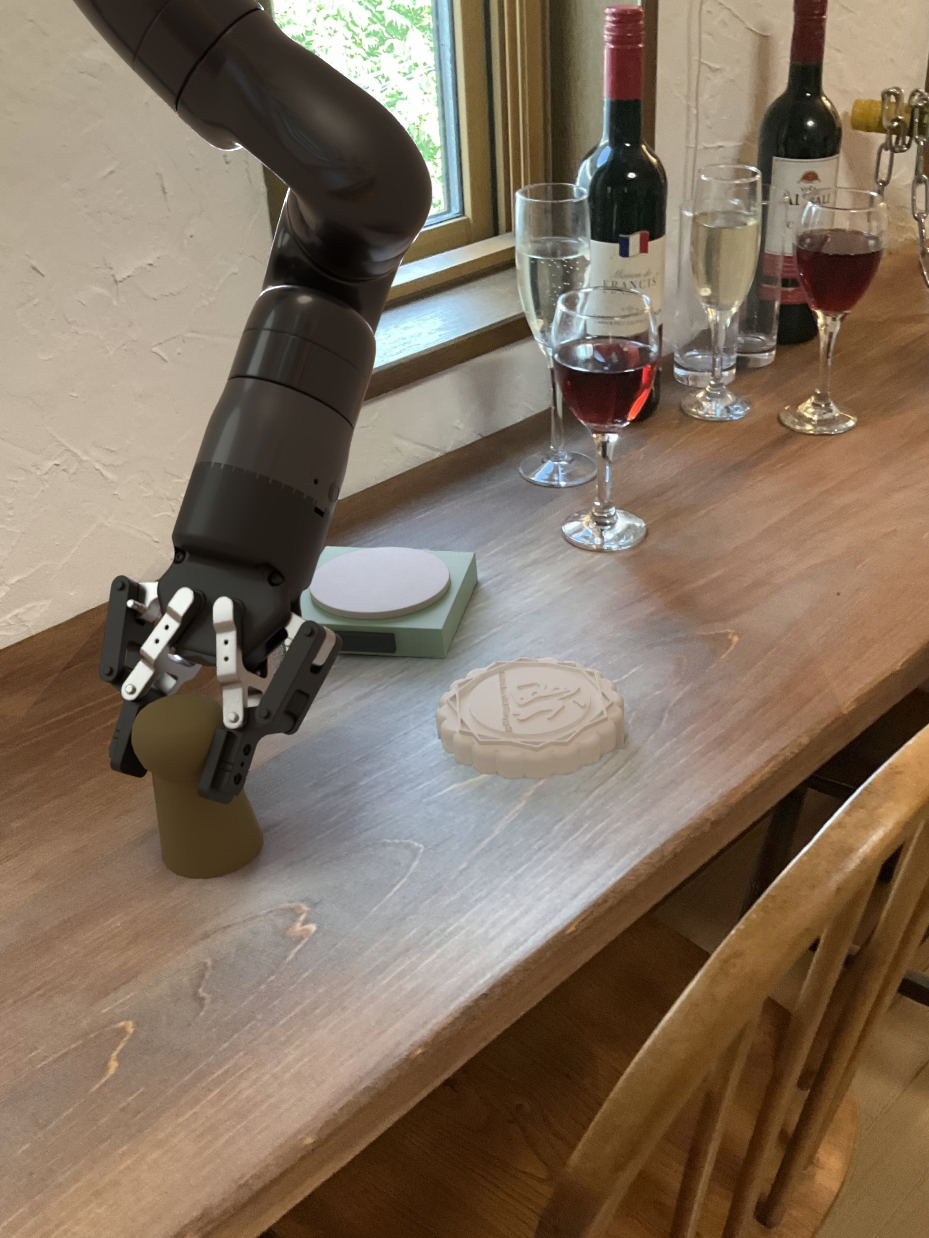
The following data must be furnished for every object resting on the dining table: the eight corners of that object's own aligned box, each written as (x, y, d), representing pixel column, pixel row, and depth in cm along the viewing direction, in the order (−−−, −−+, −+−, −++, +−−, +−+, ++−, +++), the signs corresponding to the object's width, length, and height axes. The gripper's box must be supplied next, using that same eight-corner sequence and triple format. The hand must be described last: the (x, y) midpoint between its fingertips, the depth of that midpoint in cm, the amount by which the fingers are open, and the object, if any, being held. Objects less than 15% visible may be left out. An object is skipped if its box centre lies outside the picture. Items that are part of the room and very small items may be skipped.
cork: (158, 851, 75) (109, 692, 68) (261, 824, 76) (224, 667, 70) (173, 915, 70) (122, 752, 63) (282, 885, 72) (244, 724, 65)
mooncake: (637, 790, 79) (637, 743, 76) (443, 809, 77) (437, 761, 75) (611, 687, 88) (610, 642, 86) (437, 702, 87) (431, 656, 84)
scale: (280, 654, 92) (273, 617, 90) (330, 573, 102) (324, 538, 100) (443, 662, 91) (439, 625, 89) (477, 579, 101) (474, 544, 99)
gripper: (115, 437, 67) (14, 742, 66) (342, 480, 63) (238, 809, 62) (201, 492, 74) (111, 769, 73) (411, 535, 70) (318, 831, 69)
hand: (170, 786), depth 68 cm, fingers closed on cork, 5 cm apart
